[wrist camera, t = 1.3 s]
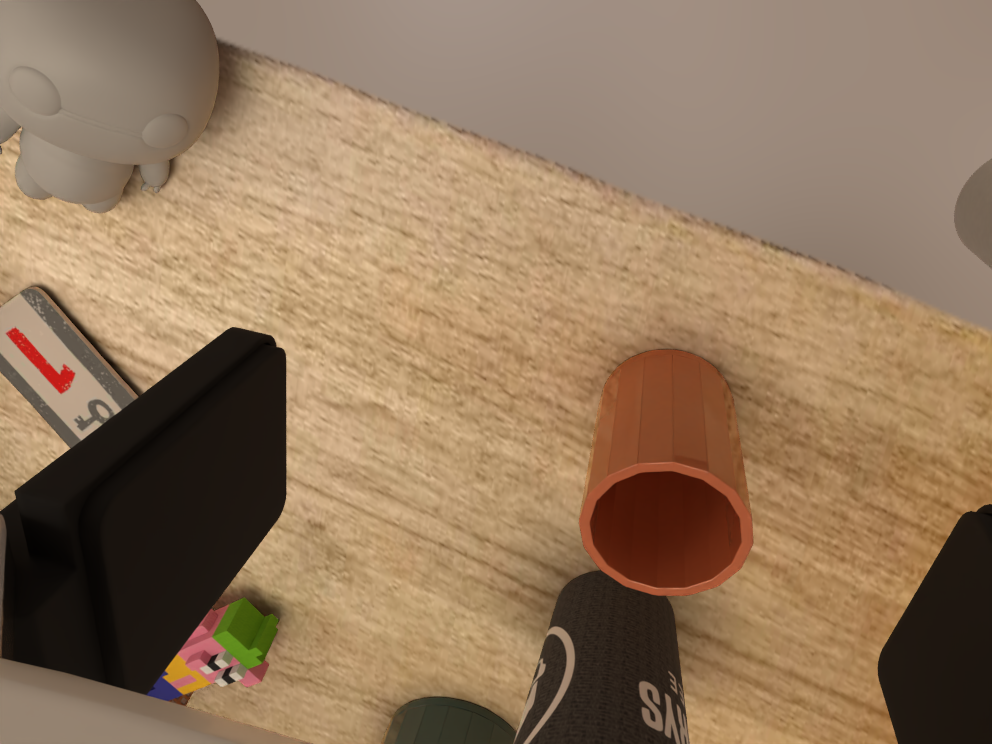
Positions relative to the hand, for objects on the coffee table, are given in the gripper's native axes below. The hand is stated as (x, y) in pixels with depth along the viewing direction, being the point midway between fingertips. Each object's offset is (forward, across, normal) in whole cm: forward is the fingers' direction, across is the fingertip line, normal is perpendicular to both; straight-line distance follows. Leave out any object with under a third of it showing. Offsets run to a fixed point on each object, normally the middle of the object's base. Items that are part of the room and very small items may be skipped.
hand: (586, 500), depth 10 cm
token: (+21, +32, +13) cm, 40 cm away
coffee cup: (+22, -4, +24) cm, 33 cm away
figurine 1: (+20, +25, +6) cm, 33 cm away
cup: (+22, -4, +10) cm, 24 cm away
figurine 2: (+18, +25, +39) cm, 49 cm away
